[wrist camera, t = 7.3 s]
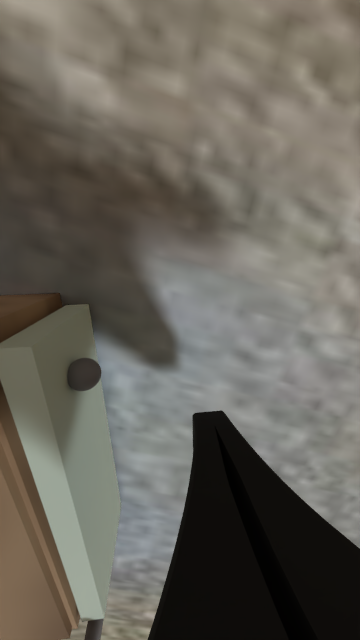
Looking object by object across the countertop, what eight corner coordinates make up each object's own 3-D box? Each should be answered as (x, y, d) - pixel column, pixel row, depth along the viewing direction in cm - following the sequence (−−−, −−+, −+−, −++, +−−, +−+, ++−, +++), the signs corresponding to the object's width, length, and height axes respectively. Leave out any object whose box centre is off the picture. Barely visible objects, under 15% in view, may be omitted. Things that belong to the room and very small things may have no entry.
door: (136, 503, 14) (126, 614, 10) (106, 507, 14) (82, 621, 10) (110, 303, 10) (71, 344, 5) (66, 305, 10) (-11, 349, 5)
